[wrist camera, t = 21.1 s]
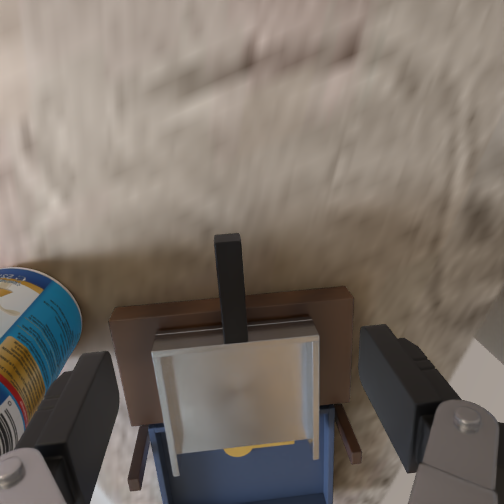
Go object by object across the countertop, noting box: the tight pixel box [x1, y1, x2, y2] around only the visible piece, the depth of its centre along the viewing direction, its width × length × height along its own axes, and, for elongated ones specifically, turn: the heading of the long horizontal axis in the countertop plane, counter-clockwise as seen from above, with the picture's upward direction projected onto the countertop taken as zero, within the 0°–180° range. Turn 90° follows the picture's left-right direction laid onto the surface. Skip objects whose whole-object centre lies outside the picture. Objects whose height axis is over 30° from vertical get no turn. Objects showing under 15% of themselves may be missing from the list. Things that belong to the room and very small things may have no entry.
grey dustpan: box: [151, 233, 319, 477], centre depth 28 cm, size 11×18×2 cm, turn 3°
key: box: [224, 441, 295, 457], centre depth 35 cm, size 6×3×1 cm, turn 93°
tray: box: [148, 404, 335, 504], centre depth 35 cm, size 15×12×2 cm
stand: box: [108, 286, 362, 491], centre depth 30 cm, size 17×13×5 cm
